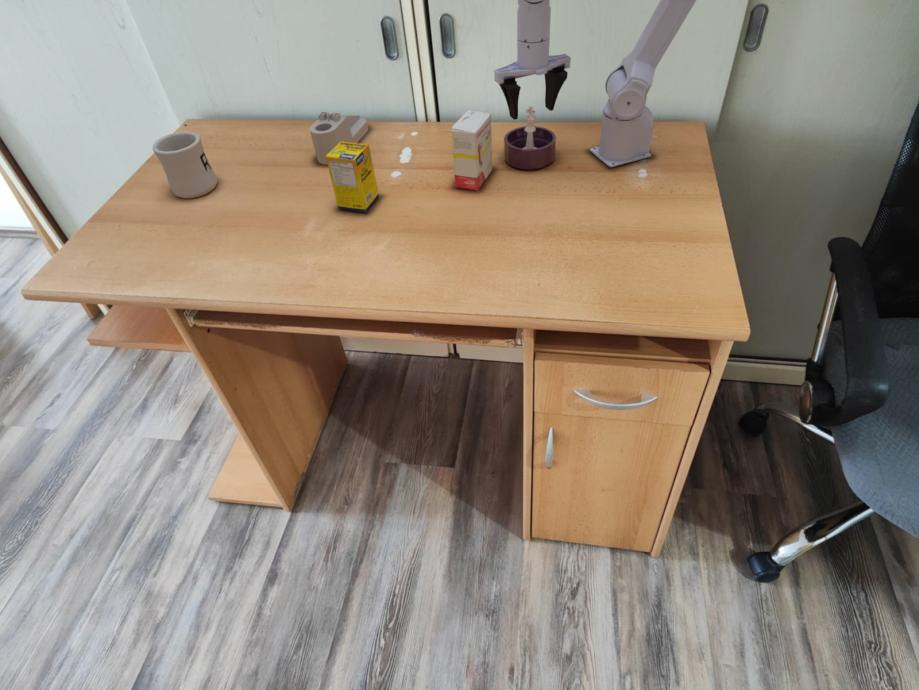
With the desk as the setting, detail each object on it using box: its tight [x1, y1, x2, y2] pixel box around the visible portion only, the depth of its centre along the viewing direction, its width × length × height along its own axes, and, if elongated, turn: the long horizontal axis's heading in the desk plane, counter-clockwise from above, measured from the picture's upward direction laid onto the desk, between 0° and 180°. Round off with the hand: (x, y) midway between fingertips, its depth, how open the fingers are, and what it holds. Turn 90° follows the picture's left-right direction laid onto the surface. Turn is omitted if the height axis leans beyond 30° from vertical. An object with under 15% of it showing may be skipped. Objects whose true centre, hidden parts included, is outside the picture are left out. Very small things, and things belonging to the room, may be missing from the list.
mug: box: [152, 131, 218, 199], centre depth 117 cm, size 12×9×10 cm
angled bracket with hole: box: [309, 111, 369, 166], centre depth 126 cm, size 6×18×8 cm, turn 163°
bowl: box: [503, 125, 557, 171], centre depth 117 cm, size 10×10×4 cm
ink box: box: [451, 109, 493, 191], centre depth 111 cm, size 9×5×12 cm, turn 157°
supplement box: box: [326, 141, 380, 214], centre depth 107 cm, size 6×6×11 cm
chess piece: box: [522, 106, 536, 149], centre depth 115 cm, size 5×5×10 cm
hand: (531, 113), depth 113 cm, fingers open, 7 cm apart
